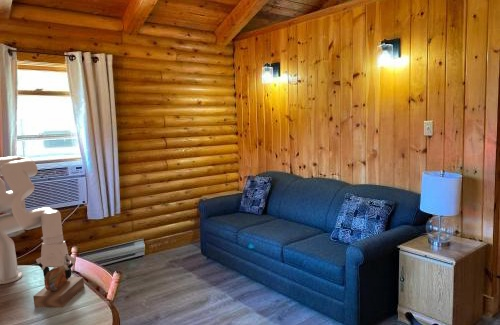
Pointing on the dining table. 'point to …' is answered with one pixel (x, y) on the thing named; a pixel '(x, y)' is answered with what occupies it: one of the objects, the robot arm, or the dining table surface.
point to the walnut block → (59, 294)
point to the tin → (55, 278)
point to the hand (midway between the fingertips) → (57, 277)
